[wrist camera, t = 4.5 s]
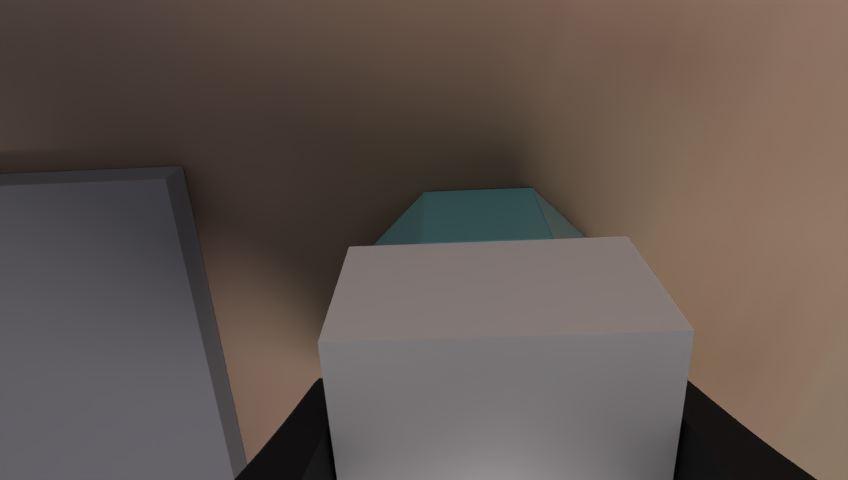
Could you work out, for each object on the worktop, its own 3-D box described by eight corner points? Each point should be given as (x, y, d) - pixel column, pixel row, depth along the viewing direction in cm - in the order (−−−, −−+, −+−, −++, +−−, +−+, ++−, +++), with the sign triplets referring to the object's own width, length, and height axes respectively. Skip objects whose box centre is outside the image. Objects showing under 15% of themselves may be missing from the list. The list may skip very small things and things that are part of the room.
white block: (608, 454, 14) (656, 592, 11) (372, 459, 14) (353, 596, 11) (627, 236, 12) (694, 330, 9) (349, 246, 12) (317, 342, 9)
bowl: (593, 397, 17) (623, 479, 14) (370, 403, 17) (357, 484, 15) (609, 184, 15) (648, 233, 12) (348, 194, 15) (327, 245, 12)
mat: (261, 531, 19) (252, 559, 18) (-104, 538, 20) (-131, 566, 19) (182, 165, 15) (165, 179, 14) (-297, 186, 15) (-344, 200, 14)
